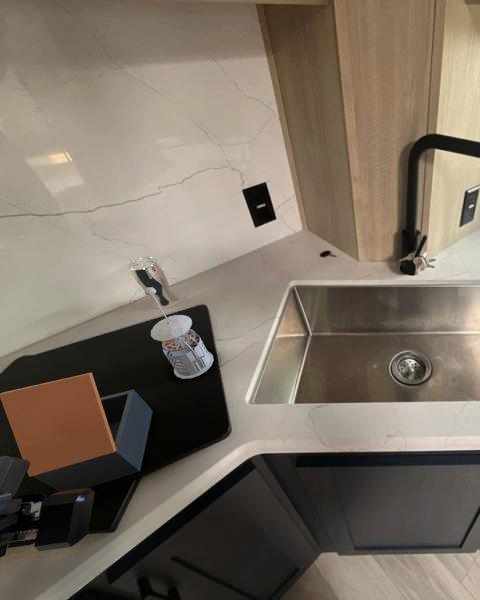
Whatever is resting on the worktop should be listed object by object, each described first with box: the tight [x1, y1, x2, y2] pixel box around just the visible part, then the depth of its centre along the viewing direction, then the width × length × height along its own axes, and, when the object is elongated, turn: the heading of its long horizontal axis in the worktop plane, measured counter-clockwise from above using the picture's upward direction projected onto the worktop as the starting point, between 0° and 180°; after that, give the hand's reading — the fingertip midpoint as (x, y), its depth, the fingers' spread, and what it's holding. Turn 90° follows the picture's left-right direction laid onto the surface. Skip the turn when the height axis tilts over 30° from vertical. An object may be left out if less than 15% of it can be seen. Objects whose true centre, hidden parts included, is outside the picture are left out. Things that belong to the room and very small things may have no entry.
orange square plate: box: [0, 372, 116, 478], centre depth 53 cm, size 14×12×1 cm
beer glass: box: [127, 256, 178, 310], centre depth 93 cm, size 7×7×15 cm
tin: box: [32, 389, 154, 492], centre depth 62 cm, size 14×12×9 cm
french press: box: [144, 287, 214, 380], centre depth 73 cm, size 10×12×25 cm
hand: (49, 502), depth 47 cm, fingers closed
